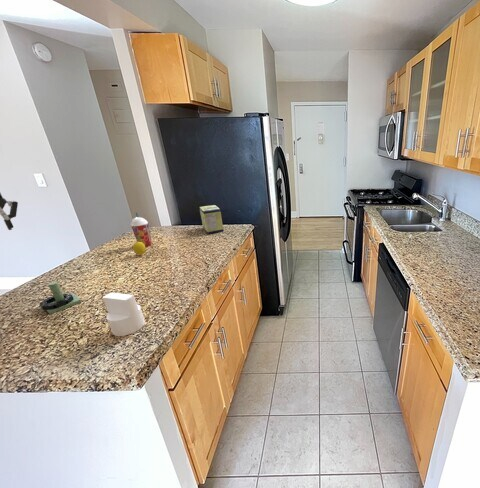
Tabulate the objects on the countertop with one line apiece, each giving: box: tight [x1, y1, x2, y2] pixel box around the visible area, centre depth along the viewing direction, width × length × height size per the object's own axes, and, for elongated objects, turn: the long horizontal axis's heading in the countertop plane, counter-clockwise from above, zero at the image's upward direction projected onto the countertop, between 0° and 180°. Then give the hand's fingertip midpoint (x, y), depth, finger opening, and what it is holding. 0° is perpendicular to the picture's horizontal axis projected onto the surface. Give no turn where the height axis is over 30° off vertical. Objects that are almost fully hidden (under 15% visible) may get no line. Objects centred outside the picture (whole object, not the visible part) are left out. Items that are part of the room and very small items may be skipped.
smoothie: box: [129, 212, 153, 248], centre depth 149 cm, size 8×8×20 cm
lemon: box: [132, 240, 147, 256], centre depth 139 cm, size 6×6×8 cm
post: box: [45, 281, 82, 315], centre depth 97 cm, size 9×9×9 cm
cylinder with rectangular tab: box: [102, 292, 146, 337], centre depth 84 cm, size 9×9×12 cm
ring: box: [39, 292, 74, 311], centre depth 97 cm, size 8×8×2 cm
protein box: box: [198, 204, 225, 235], centre depth 176 cm, size 10×16×16 cm
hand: (2, 230), depth 95 cm, fingers open, 3 cm apart
